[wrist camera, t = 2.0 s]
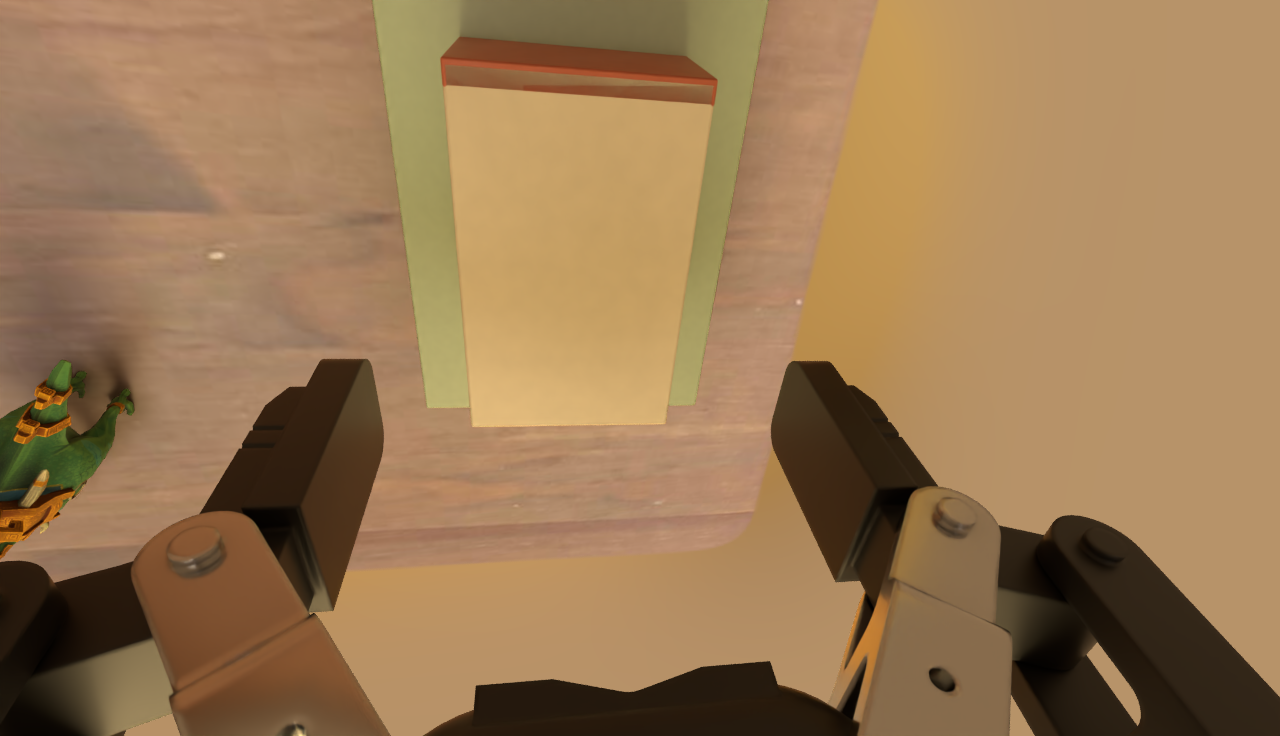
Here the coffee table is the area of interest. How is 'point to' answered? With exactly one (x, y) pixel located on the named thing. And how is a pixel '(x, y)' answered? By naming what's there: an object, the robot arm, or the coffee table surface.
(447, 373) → the bottom book
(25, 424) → the figurine
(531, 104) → the top book
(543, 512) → the coffee table surface
